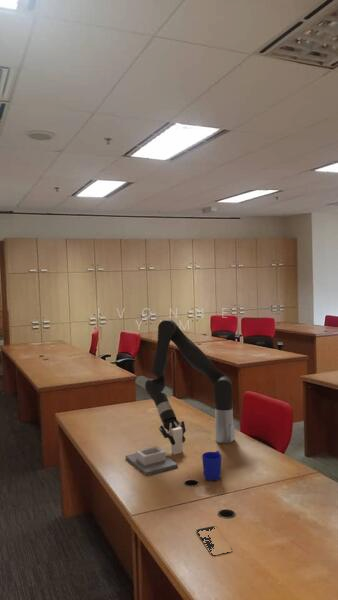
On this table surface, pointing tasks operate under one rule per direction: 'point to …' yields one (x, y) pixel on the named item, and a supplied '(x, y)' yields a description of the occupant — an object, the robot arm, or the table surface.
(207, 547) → the phone
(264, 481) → the table surface
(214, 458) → the mug
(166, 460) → the block insertion holder
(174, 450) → the rectangular block
